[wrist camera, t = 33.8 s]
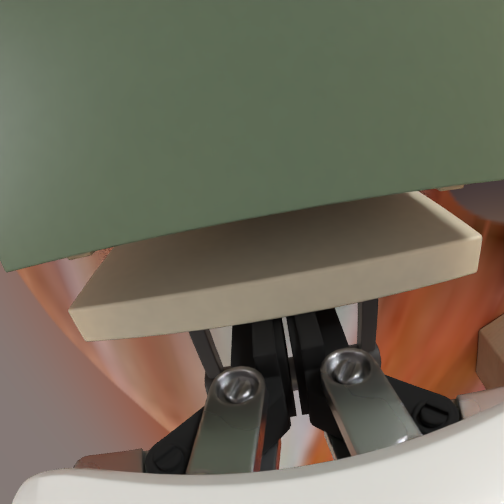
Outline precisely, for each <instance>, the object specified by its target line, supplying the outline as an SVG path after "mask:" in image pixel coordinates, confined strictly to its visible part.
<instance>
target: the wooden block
mask: <svg viewBox="0 0 504 504" xmlns="http://www.w3.org/2000/svg"><path fill="white" fill-rule="evenodd" d="M476 373H477V375H478V377H479V378H480V380H481V381H482V383H483V385H484V386H485V388H486V390H488V389H493V388H497V387H501V386H504V314H503V315H502V316H500V317H499V318H497V319H496V320H494V321H493V322H491V323H490V324H488V325H487V326H485V327H484V328H482V329H480V331H479V340H478V356H477V367H476Z"/></svg>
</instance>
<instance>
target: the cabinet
mask: <svg viewBox="0 0 504 504" xmlns="http://www.w3.org/2000/svg"><path fill="white" fill-rule="evenodd" d="M498 180H504V0H0V261H1V263H2V265H3V268H4V270H5V271H6V272H11V271H14V270H18V269H22V268H26V267H30V266H34V265H38V264H42V263H46V262H50V261H55V260H59V259H63V258H67V257H71V256H75V255H80V254H84V253H88V252H93V251H97V250H101V249H106V248H110V247H115V246H119V245H124V244H128V243H133V242H137V241H142V240H147V239H151V238H156V237H161V236H165V235H170V234H175V233H180V232H185V231H190V230H195V229H200V228H205V227H210V226H215V225H220V224H225V223H230V222H235V221H241V220H246V219H251V218H256V217H262V216H267V215H273V214H278V213H284V212H289V211H295V210H301V209H307V208H312V207H318V206H324V205H330V204H336V203H342V202H348V201H354V200H361V199H367V198H373V197H380V196H386V195H393V194H400V193H407V192H414V191H421V190H428V189H435V188H442V187H450V186H457V185H465V184H472V183H481V182H489V181H498Z"/></svg>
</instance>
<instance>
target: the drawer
mask: <svg viewBox="0 0 504 504" xmlns="http://www.w3.org/2000/svg"><path fill="white" fill-rule="evenodd" d="M463 187H464V185H457V186H450V187H442V188H436V189H438V190H439V191H445V190H452V189H459V188H463ZM481 243H482V236H481V234H479V233H478V232H477V231H475V230H474V229H473V228H471V227H470V226H468V225H467V224H466V223H464V222H463V221H462V220H460V219H459V218H457V217H456V216H454V215H453V214H452V213H450V212H449V211H447V210H446V209H444V208H443V207H441V206H440V205H438V204H437V203H435V202H434V201H432V200H431V199H429V198H428V197H426V196H425V195H423V194H422V193H420V192H419V191H414V192H407V193H400V194H393V195H386V196H380V197H373V198H367V199H361V200H354V201H348V202H342V203H336V204H330V205H324V206H318V207H312V208H307V209H301V210H295V211H289V212H284V213H278V214H273V215H267V216H262V217H256V218H251V219H246V220H241V221H235V222H230V223H225V224H220V225H215V226H210V227H205V228H200V229H195V230H190V231H185V232H180V233H175V234H170V235H165V236H161V237H156V238H151V239H147V240H142V241H137V242H133V243H128V244H124V245H119V246H115V247H114V248H113V249H112V250H111V251H110V253H109V254H108V255H107V257H106V258H105V259H104V261H103V262H102V263H101V265H100V266H99V267H98V269H97V270H96V271H95V273H94V274H93V275H92V277H91V278H90V280H89V281H88V282H87V284H86V285H85V286H84V288H83V289H82V291H81V292H80V294H79V295H78V296H77V298H76V299H75V301H74V302H73V304H72V305H71V307H70V308H69V310H68V311H69V314H70V315H71V317H72V319H73V321H74V323H75V324H76V326H77V328H78V330H79V331H80V333H81V335H82V336H83V338H84V340H85V341H87V342H89V341H103V340H115V339H126V338H137V337H146V336H156V335H165V334H173V333H182V332H189V334H190V336H191V339H192V341H193V344H194V346H195V348H196V351H197V353H198V355H199V358H200V360H201V362H202V365H203V367H204V369H205V371H206V372H205V388H206V392H207V395H208V392H209V389H210V386H211V384H212V382H213V380H214V379H215V378H216V377H217V376H218V375H219V374H220V373H222V372H223V371H225V370H227V369H230V368H231V366H228V367H223V365H222V362H221V360H220V357H219V355H218V352H217V349H216V347H215V344H214V341H213V338H212V336H211V333H210V330H209V329H212V328H219V327H226V326H233V325H240V324H246V323H252V322H258V321H265V320H270V319H276V318H282V317H288V316H293V315H299V314H304V313H309V312H315V311H320V310H325V309H330V308H335V307H340V306H344V305H349V304H354V303H358V332H357V344H354V345H349V348H358V349H362V350H364V351H366V352H368V353H369V354H370V355H371V356H372V357H373V358H374V359H375V361H376V362H377V364H378V365H379V367H380V369H381V357H380V352H379V349H378V346H377V344H376V329H377V313H378V298H381V297H385V296H389V295H393V294H398V293H402V292H406V291H410V290H414V289H418V288H422V287H426V286H430V285H433V284H437V283H441V282H445V281H448V280H452V279H455V278H459V277H463V276H466V275H470V274H473V273H475V272H476V271H477V268H478V262H479V256H480V250H481ZM94 252H95V251H93V252H88V253H84V254H80V255H75V256H71V257H67V258H68V260H73V259H77V258H81V257H86V256H90V255H92V254H93V253H94ZM288 360H289V367H290V373H291V380H292V387H293V391H295V390H298V385H297V379H296V373H295V367H294V360H293V357H289V358H288Z"/></svg>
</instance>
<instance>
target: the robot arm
mask: <svg viewBox="0 0 504 504" xmlns="http://www.w3.org/2000/svg"><path fill="white" fill-rule="evenodd" d="M286 319H287V325H288V331H289V337H290V343H291V348H292V354H293V360H294V367H295V373H296V379H297V385H298V391H299V398H300V404H301V410H302V415H304V414H309V417H310V423H312V425H313V426H315V427H317V428H319V429H321V430H323V431H324V435H325V438H326V441H327V443H328V446H329V448H330V451H331V454H332V456H333V459H334V460H333V461H328V462H323V463H318V464H312V465H306V466H300V467H294V468H287V469H279V462H280V451H281V437H282V436H283V435H284V434H285V433H286V432H287V431H288V430H289V429H290V426H291V422H290V417H293V416H297V415H296V408H295V401H294V394H293V387H292V380H291V373H290V367H289V360H288V353H287V347H286V340H285V334H284V328H283V323H282V318H276V319H270V320H265V321H258V322H252V323H246V324H240V325H233V326H232V348H231V368H230V369H227V370H225V371H223V372H222V373H220V374H219V375H218V376H217V377H216V378H215V379H214V380H213V382H212V384H211V386H210V389H209V392H208V396H207V400H206V403H205V406H204V407H202V408H201V409H200V410H199V411H198V412H196V413H195V414H194V415H193V416H191V417H190V418H189V419H187V420H186V421H185V422H184V423H182V424H181V425H180V426H179V427H177V428H176V429H175V430H173V431H172V432H171V433H169V434H168V435H167V436H166V437H164V438H163V439H162V440H160V441H159V442H158V443H156V444H155V445H154V446H153V447H152V448H151V449H150V450H149V451H143V449H135V450H129V451H122V452H115V453H107V454H99V455H89V456H85V457H82V458H81V459H80V460H78V461H77V462H76V464H75V465H74V467H73V468H64V469H56V470H51V471H46V472H42V473H39V474H37V475H34V476H32V477H30V478H29V479H27V480H26V481H25V482H24V483H23V484H22V485H21V487H20V488H19V490H18V491H17V494H16V495H15V497H14V500H13V502H12V504H504V386H501V387H497V388H493V389H488V390H483V391H478V392H473V393H468V394H462V395H457V397H456V399H452V400H450V399H449V398H447V397H445V396H442V395H440V394H437V393H434V392H431V391H428V390H425V389H422V388H420V387H417V386H414V385H411V384H408V383H406V382H403V381H400V380H398V379H395V378H392V377H389V376H387V375H384V373H383V372H382V370H381V369H380V367H379V365H378V364H377V362H376V361H375V359H374V358H373V357H372V356H371V355H370V354H369V353H368V352H366V351H364V350H362V349H358V348H349V345H348V342H347V340H346V337H345V334H344V332H343V329H342V326H341V324H340V321H339V318H338V316H337V313H336V310H335V308H330V309H325V310H320V311H315V312H309V313H304V314H299V315H293V316H288V317H286Z"/></svg>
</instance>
